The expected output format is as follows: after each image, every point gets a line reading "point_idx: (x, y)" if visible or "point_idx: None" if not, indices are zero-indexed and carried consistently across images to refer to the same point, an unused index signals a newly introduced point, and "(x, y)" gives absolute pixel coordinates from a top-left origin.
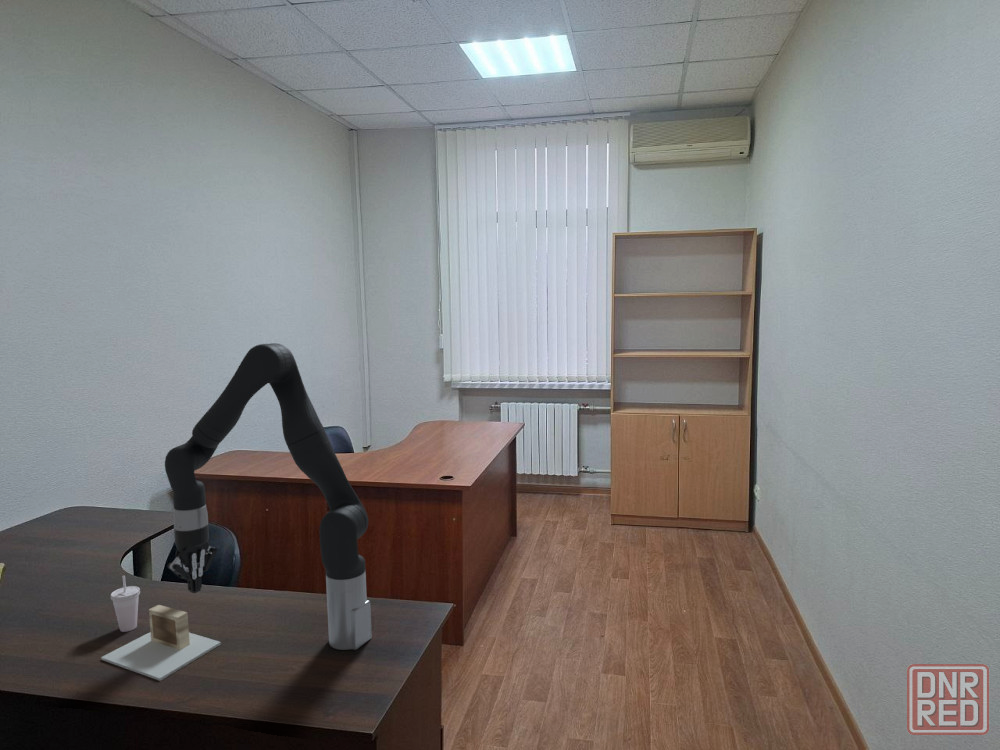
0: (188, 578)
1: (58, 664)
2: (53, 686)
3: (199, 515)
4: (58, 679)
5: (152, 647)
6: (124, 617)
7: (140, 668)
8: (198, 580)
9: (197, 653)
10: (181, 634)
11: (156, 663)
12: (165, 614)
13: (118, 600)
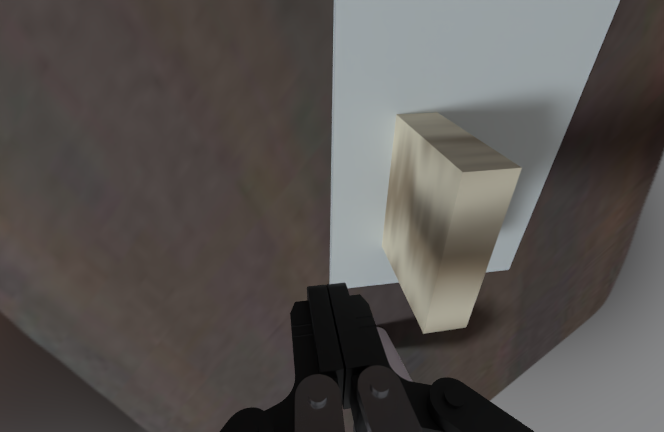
0: (447, 386)
1: (528, 311)
2: (609, 248)
3: None
4: (583, 264)
5: None
6: (401, 364)
7: (557, 130)
8: (332, 348)
9: (444, 15)
10: (456, 131)
11: (527, 109)
12: (492, 246)
13: None
